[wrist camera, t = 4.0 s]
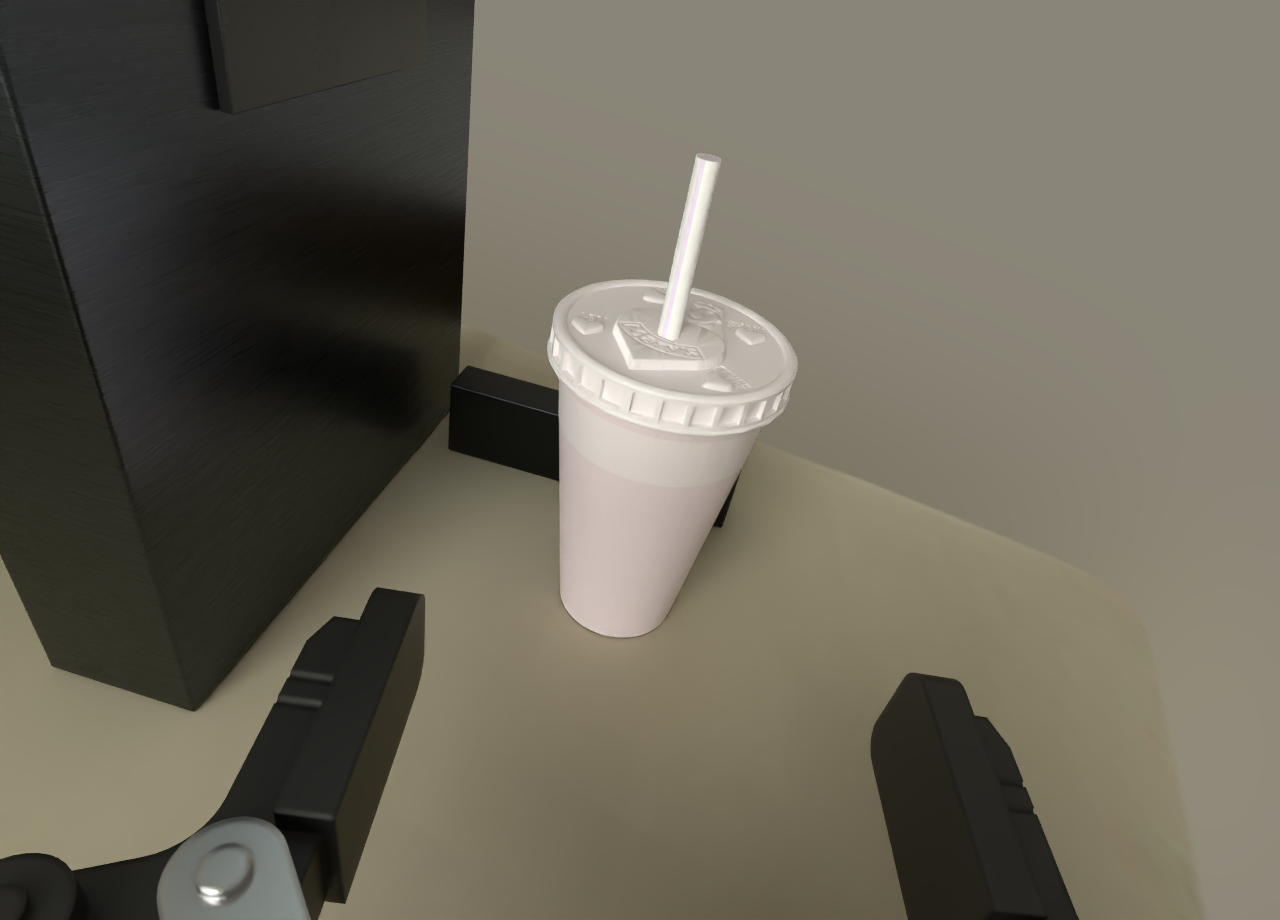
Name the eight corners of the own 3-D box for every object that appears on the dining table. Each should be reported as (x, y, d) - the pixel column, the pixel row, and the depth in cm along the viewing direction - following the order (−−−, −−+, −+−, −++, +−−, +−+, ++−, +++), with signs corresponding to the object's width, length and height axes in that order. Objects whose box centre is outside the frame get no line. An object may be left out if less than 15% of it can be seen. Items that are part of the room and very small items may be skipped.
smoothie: (475, 603, 23) (510, 128, 15) (587, 501, 28) (660, 100, 19) (653, 712, 21) (810, 235, 13) (740, 582, 26) (894, 175, 17)
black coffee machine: (731, 478, 30) (1028, -423, 16) (655, 861, 18) (1890, -2103, 3) (370, 376, 32) (333, -557, 17) (50, 667, 19) (-1292, -2204, 4)
